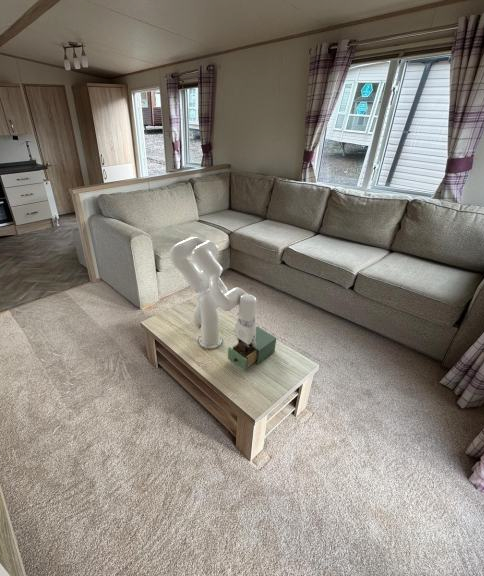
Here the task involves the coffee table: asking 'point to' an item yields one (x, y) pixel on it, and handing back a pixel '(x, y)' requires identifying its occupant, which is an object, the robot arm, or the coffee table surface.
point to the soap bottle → (197, 310)
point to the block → (242, 346)
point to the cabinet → (264, 344)
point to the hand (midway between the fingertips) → (244, 348)
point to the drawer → (242, 356)
